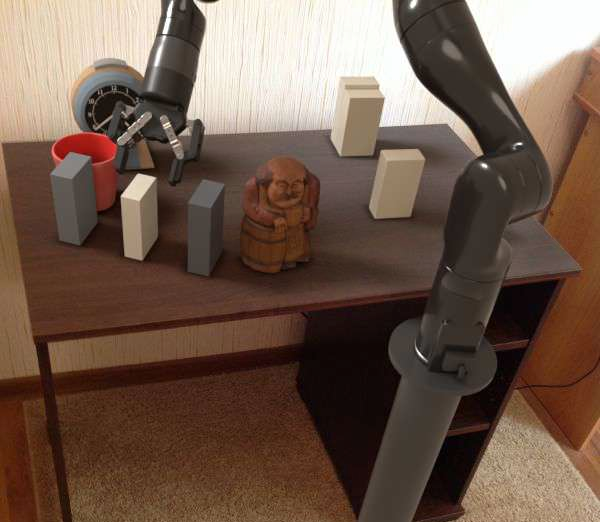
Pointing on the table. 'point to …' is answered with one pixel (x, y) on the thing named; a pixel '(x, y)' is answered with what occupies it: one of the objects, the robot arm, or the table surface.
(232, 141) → the table surface
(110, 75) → the alarm clock
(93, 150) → the flower pot
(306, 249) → the wooden figurine
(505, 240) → the robot arm
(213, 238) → the pair of grey blocks
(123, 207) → the beige block
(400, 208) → the cream books
